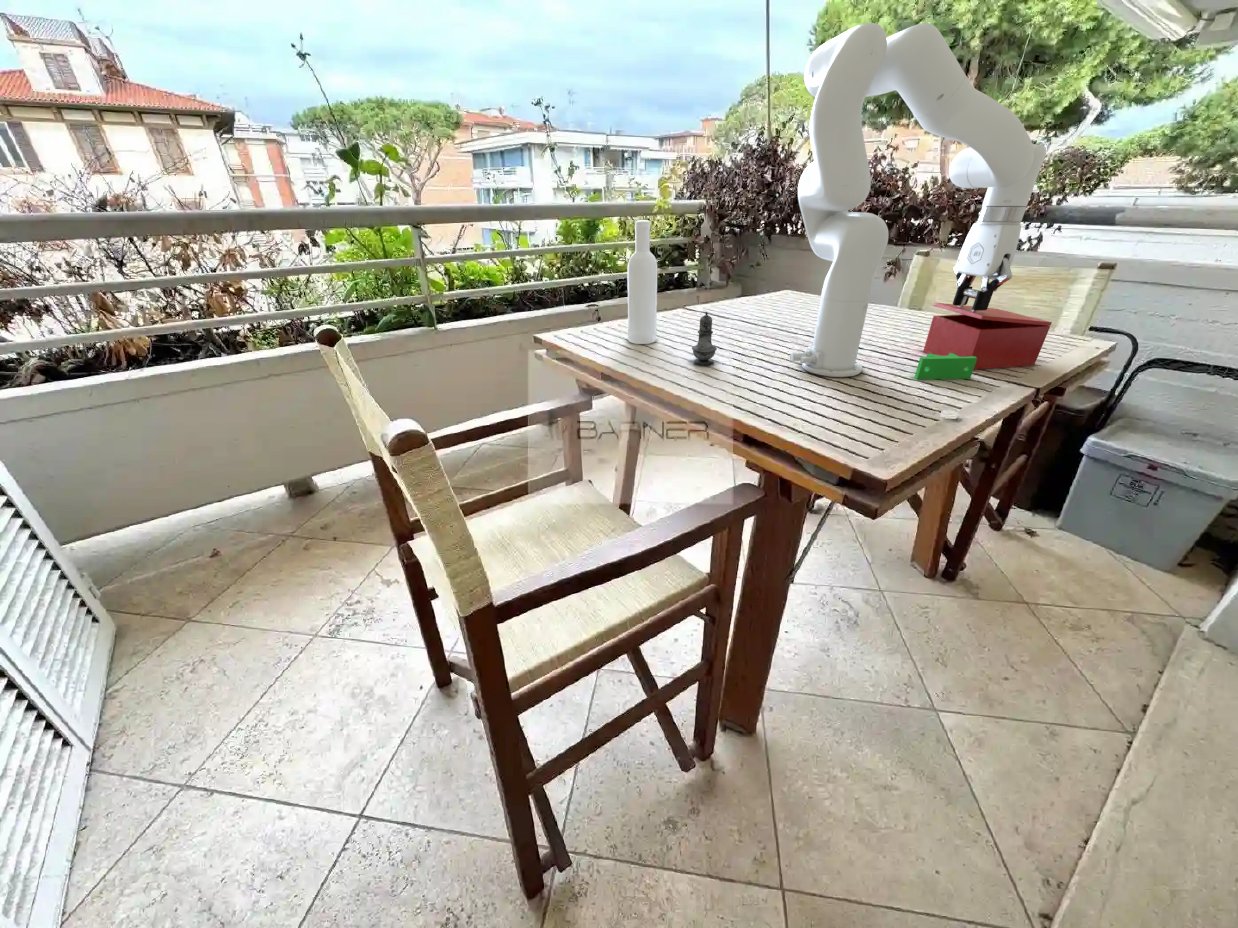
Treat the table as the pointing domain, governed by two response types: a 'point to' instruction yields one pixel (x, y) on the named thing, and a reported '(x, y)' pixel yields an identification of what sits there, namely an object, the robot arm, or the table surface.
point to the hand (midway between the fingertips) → (969, 306)
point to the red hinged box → (986, 340)
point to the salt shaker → (704, 343)
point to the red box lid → (989, 311)
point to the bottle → (642, 288)
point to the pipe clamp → (945, 367)
